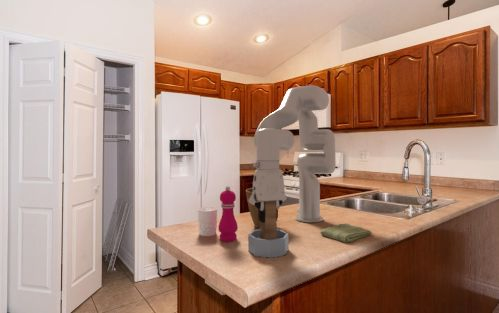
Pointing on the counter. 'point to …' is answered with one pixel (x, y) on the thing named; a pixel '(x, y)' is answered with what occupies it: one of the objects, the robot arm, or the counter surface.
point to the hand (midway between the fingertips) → (268, 220)
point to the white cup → (207, 221)
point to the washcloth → (345, 232)
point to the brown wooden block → (269, 222)
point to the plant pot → (253, 208)
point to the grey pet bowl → (268, 244)
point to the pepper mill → (227, 216)
